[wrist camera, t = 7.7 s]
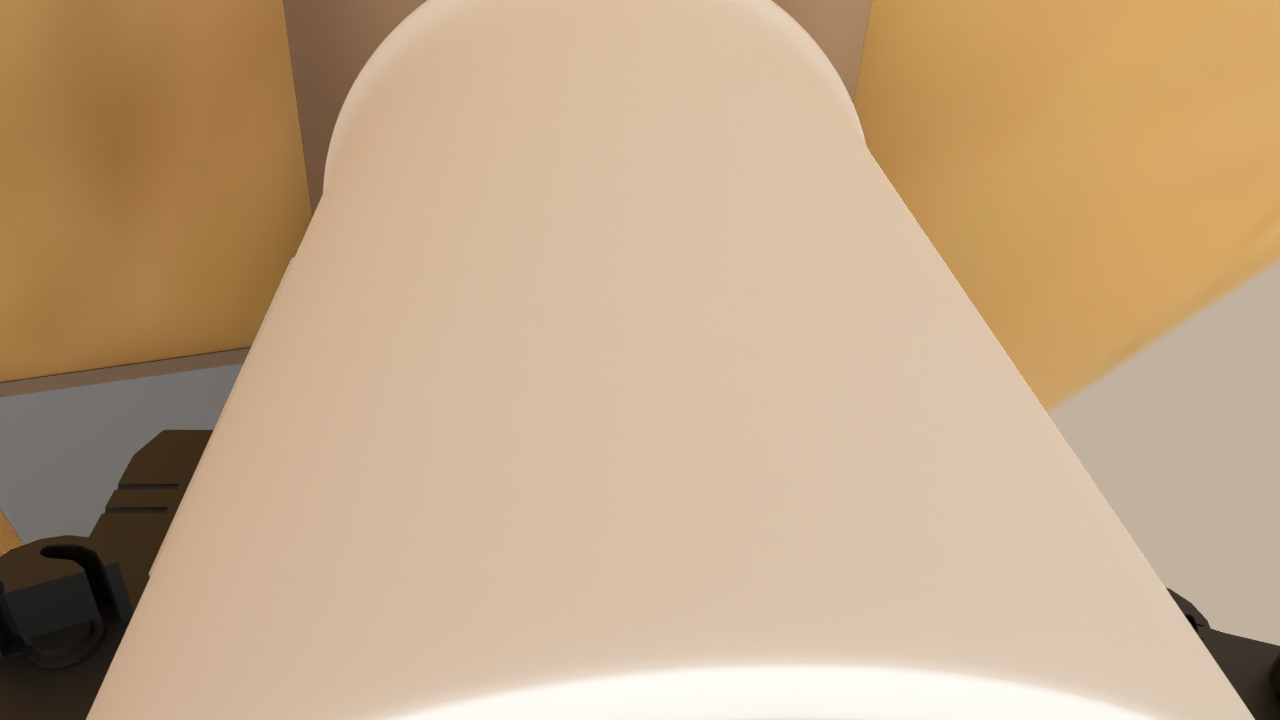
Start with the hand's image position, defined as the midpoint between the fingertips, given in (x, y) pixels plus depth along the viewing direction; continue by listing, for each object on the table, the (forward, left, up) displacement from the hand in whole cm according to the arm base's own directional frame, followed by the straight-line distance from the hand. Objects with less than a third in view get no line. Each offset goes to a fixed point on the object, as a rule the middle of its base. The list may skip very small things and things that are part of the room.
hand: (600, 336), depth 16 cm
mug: (0, 0, -1) cm, 1 cm away
